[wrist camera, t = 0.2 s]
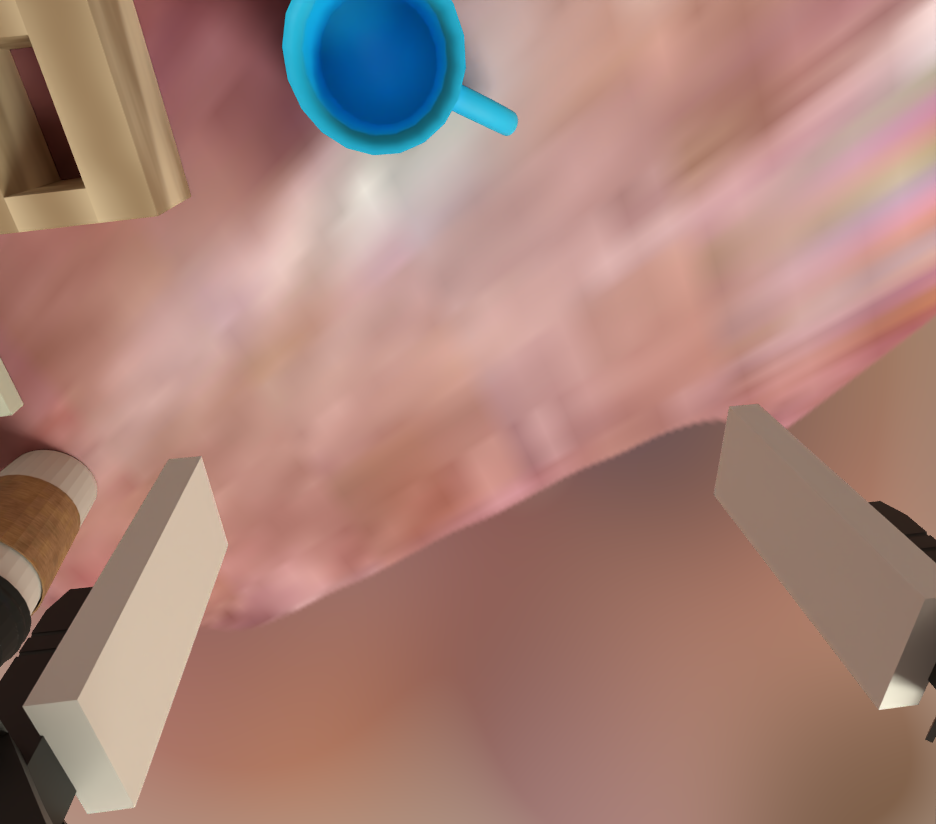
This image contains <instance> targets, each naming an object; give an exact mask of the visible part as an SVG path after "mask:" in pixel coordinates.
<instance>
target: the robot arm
mask: <svg viewBox="0 0 936 824" xmlns="http://www.w3.org/2000/svg"><path fill="white" fill-rule="evenodd" d="M714 496H715V497H716V498H717V500H718V501H719V502H720V504H721V505H722V506H723V507H724V509H725V510H726V511H727V513H728V514H729V515H730V517H731V518H732V519H733V521H734V522H735V523H736V524H737V526H738V527H739V528H740V530H741V531H742V532H743V534H744V535H745V536H746V537H747V539H748V540H749V541H750V543H751V544H752V545H753V547H754V548H755V549H756V551H757V552H758V553H759V554H760V556H761V557H762V558H763V560H764V561H765V562H766V564H767V565H768V566H769V567H770V569H771V570H772V571H773V573H774V574H775V575H776V577H777V578H778V579H779V581H780V582H781V583H782V584H783V586H784V587H785V588H786V590H787V591H788V592H789V594H790V595H791V596H792V597H793V599H794V600H795V601H796V603H797V604H798V605H799V607H800V608H801V609H802V611H803V612H804V613H805V614H806V616H807V617H808V618H809V620H810V621H811V622H812V624H813V625H814V626H815V627H816V629H817V630H818V631H819V633H820V634H821V635H822V637H823V638H824V639H825V641H826V642H827V643H828V644H829V646H830V647H831V648H832V650H833V651H834V652H835V654H836V655H837V656H838V657H839V659H840V660H841V661H842V663H843V664H844V665H845V667H846V668H847V669H848V671H849V672H850V673H851V674H852V676H853V677H854V678H855V680H856V681H857V682H858V684H859V685H860V686H861V687H862V689H863V690H864V691H865V693H866V694H867V695H868V697H869V698H870V699H871V700H872V702H873V703H874V704H875V706H876V707H877V708H878V710H881V709H889V708H896V707H904V706H911V705H918V704H919V702H920V700H921V697H922V696H923V693H924V691H925V689H926V686H927V685H928V683H929V682H930V683H931V684H932V685H933V686H934V688H935V689H936V540H935V539H934V538H933V537H932V536H931V535H930V536H928V535H927V532H926V531H925V530H924V529H923V528H921V527H920V526H919V525H918V524H917V523H916V522H914V521H913V520H912V519H910V517H908V516H907V515H905V514H904V513H902V512H900V511H898V510H896V509H894V508H892V507H890V506H889V505H887V504H885V503H883V502H881V501H877V502H867V501H866V500H865V499H864V498H863V497H861V496H860V495H859V494H858V493H857V492H856V491H855V490H854V489H853V488H851V487H850V486H849V485H848V484H847V483H846V482H845V481H844V480H843V479H841V478H840V477H839V476H838V475H837V474H836V473H835V472H834V471H832V470H831V469H830V468H829V467H828V466H827V465H826V464H825V463H823V462H822V461H821V460H820V459H819V458H818V457H817V456H816V455H815V454H813V453H812V452H811V451H810V450H809V449H808V448H807V447H805V446H804V445H803V444H802V443H801V442H800V441H799V440H798V439H797V438H795V437H794V436H793V435H792V434H791V433H790V432H789V431H788V430H787V429H786V428H784V427H783V426H782V425H781V424H780V423H779V422H778V421H777V420H776V419H774V418H773V417H772V416H771V415H770V414H769V413H768V412H767V411H765V410H764V409H763V408H762V407H761V406H760V405H759V404H752V405H741V406H730V407H729V410H728V416H727V422H726V427H725V434H724V439H723V444H722V450H721V456H720V461H719V467H718V473H717V478H716V484H715V490H714ZM227 547H228V543H227V539H226V536H225V533H224V529H223V526H222V523H221V519H220V516H219V513H218V509H217V506H216V503H215V499H214V496H213V493H212V489H211V486H210V483H209V480H208V476H207V473H206V470H205V466H204V463H203V460H202V456H198V457H188V458H177V459H169V460H168V461H167V463H166V465H165V466H164V468H163V470H162V471H161V473H160V475H159V476H158V478H157V480H156V482H155V483H154V485H153V487H152V488H151V490H150V492H149V493H148V495H147V497H146V498H145V500H144V502H143V504H142V505H141V507H140V509H139V510H138V512H137V514H136V515H135V517H134V519H133V520H132V522H131V524H130V525H129V527H128V529H127V531H126V532H125V534H124V536H123V537H122V539H121V541H120V542H119V544H118V546H117V547H116V549H115V551H114V553H113V554H112V556H111V558H110V559H109V561H108V563H107V564H106V566H105V568H104V569H103V571H102V573H101V574H100V576H99V578H98V580H97V581H96V583H95V585H94V586H93V587H88V588H78V589H70V590H69V591H68V592H67V593H66V594H64V595H63V596H62V597H61V598H60V599H59V600H58V601H56V602H55V603H54V604H53V605H52V606H51V607H50V608H49V609H47V610H46V612H45V613H44V615H43V616H42V618H41V619H40V621H39V623H38V624H37V625H36V627H35V629H34V630H33V632H32V636H31V638H28V639H27V641H26V642H25V644H24V645H23V647H22V649H21V650H20V652H19V653H20V655H19V657H16V658H15V659H14V661H13V662H12V664H11V665H10V667H9V669H8V670H7V671H6V673H5V674H4V676H3V678H2V679H1V681H0V824H67V823H66V822H65V820H64V818H65V816H66V814H67V812H68V809H69V807H70V805H71V803H72V800H73V798H74V796H75V794H76V796H77V797H78V799H79V801H80V802H81V804H82V805H83V807H84V809H85V811H86V812H87V814H89V813H97V812H106V811H113V810H121V809H128V808H135V806H136V803H137V800H138V798H139V795H140V792H141V789H142V786H143V784H144V781H145V778H146V775H147V772H148V770H149V767H150V764H151V761H152V758H153V755H154V753H155V750H156V747H157V744H158V741H159V739H160V736H161V733H162V730H163V727H164V724H165V722H166V719H167V716H168V713H169V710H170V708H171V705H172V702H173V699H174V696H175V694H176V691H177V688H178V685H179V682H180V679H181V677H182V674H183V671H184V668H185V665H186V662H187V660H188V657H189V654H190V651H191V649H192V646H193V642H194V640H195V637H196V634H197V632H198V629H199V626H200V623H201V620H202V618H203V615H204V612H205V609H206V606H207V603H208V601H209V598H210V595H211V592H212V589H213V587H214V584H215V581H216V578H217V575H218V573H219V570H220V567H221V564H222V561H223V558H224V556H225V553H226V550H227ZM935 737H936V717H935V719H934V721H933V723H932V725H931V727H930V729H929V732H928V734H927V737H926V740H928V741H930V742H933V741H934V739H935Z"/></svg>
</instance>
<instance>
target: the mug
mask: <svg viewBox="0 0 936 824" xmlns="http://www.w3.org/2000/svg"><path fill="white" fill-rule="evenodd" d="M282 49H283V55H284V60H285V66H286V72H287V78H288V81H289V83H290V85H291V87H292V89H293V92H294V94H295V96H296V98H297V100H298V102H299V104H300V106H301V108H302V110H303V111H304V112H305V113H306V114H307V116H308V117H309V118H310V119H311V120H312V121H313V122H314V124H315V125H316V126H317V127H318V128H319V129H320V131H321V132H322V133H324V134H325V135H327V136H329V137H330V138H332V139H333V140H335V141H336V142H338V143H340V144H341V145H343V146H344V147H346V148H348V149H352V150H356V151H360V152H364V153H367V154H371V155H381V154H395V153H401V152H404V151H406V150H408V149H410V148H413V147H415V146H417V145H420V144H422V143H424V142H425V141H426V140H427V139H429V138H430V137H431V136H432V135H433V134H434V133H435V132H436V131H437V130H438V129H439V128H440V127H442V126H443V125H444V124H445V122H446V120H447V118H448V117H449V115H450V113H451V111H454V112H456V113H458V114H460V115H462V116H464V117H466V118H468V119H471V120H473V121H475V122H477V123H479V124H481V125H483V126H485V127H487V128H489V129H491V130H494V131H496V132H498V133H500V134H502V135H505V136H508V135H511V134H512V133H513V132H514V131H515V129H516V127H517V124H518V118H517V115H516V113H515V112H513V111H512V110H510V109H508V108H506V107H505V106H503V105H501V104H499V103H497V102H495V101H493V100H492V99H490V98H488V97H486V96H484V95H482V94H480V93H478V92H476V91H474V90H472V89H470V88H468V87H466V86H464V85H462V82H463V78H464V74H465V69H466V63H465V44H464V34H463V31H462V28H461V25H460V22H459V19H458V16H457V13H456V10H455V7H454V4H453V2H452V1H451V0H291V2H290V5H289V7H288V9H287V12H286V15H285V25H284V34H283V43H282Z"/></svg>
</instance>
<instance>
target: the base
mask: <svg viewBox="0 0 936 824" xmlns="http://www.w3.org/2000/svg"><path fill="white" fill-rule="evenodd" d="M23 405H24V404H23V402H22V400H21V398H20V396H19V394H18V392H17V390H16V388H15V386H14V384H13V382H12V380H11V378H10V376H9V374H8V372H7V370H6V368H5V366H4V364H3V362H2V360H1V358H0V417H1V416H9V415H13V414H14V413H15V412H16V411H17V410H18V409H19V408H21V407H22V406H23Z"/></svg>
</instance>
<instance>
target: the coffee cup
mask: <svg viewBox="0 0 936 824" xmlns="http://www.w3.org/2000/svg"><path fill="white" fill-rule="evenodd" d="M96 496H97V484H96V481H95V478H94V477H93V475H92V473H91V472H90V470H89V469H88V468H87V467H86V466H85V465H84V464H82V463H81V462H80V461H79V460H77V459H75V458H73V457H72V456H69V455H67V454H65V453H61V452H58V451H52V450H36V451H31V452H28V453H25V454H23V455H21V456H20V457H18V458H17V459H16V460H14V461H13V462H12V463H10V464H9V465H8V466H7V467H6V468H4V469H3V470H2V471H1V472H0V667H1V666H2V665H3V663H4V662H6V661H7V660H9V659H10V658H11V657H12V656H13V655H14V654H15V653H16V652H17V651H18V650H19V648H20V646H21V644H22V643H23V642H24V641H25V639H26V637H27V635H28V633H29V632H30V626H31V615H33V613H35V612H36V611H37V610H38V608H39V607H40V605H41V603H42V601H43V599H44V597H45V595H46V593H47V591H48V589H49V587H50V585H51V584H52V582H53V580H54V578H55V576H56V574H57V572H58V570H59V568H60V566H61V564H62V562H63V560H64V558H65V556H66V554H67V552H68V551H69V549H70V547H71V545H72V543H73V541H74V539H75V537H76V535H77V533H78V531H79V528H80V527H81V525H82V523H83V521H84V519H85V518H86V516H87V514H88V512H89V510H90V509H91V507H92V505H93V503H94V501H95V499H96Z"/></svg>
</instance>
